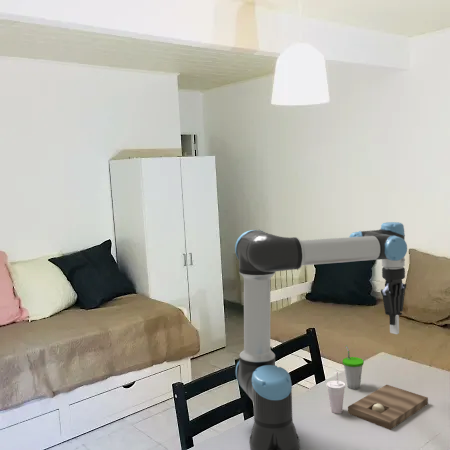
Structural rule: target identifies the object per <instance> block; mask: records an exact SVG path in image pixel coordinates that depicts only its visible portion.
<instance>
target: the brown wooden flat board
mask: <svg viewBox="0 0 450 450" xmlns="http://www.w3.org/2000/svg"><path fill="white" fill-rule="evenodd" d="M377 403H378V404H381V405H383V407H384V409H385V411H384V412H383V413H379V412H376V411H373V410H372V407H373V405H375V404H377ZM428 405H429V397H427V396H425V395H421V394H418V393H415V392H412V391H408V390H405V389H402V388H398V387H396V386H393V385H389V384H385V385H384V386H382V387H380V388H377V390H375V391H373V392H371V393H369V394H368V395H366V396H364V397H362V398H361V399H359V400H357V401H356V402H353V403H351V404H350V405H348V406H347V414H348V415H351V416H353V417H355V418H358V419H361V420H363V421H366V422H369V423H371V424H374V425H377V426H379V427H381V428H385V429H386V430H390V431H391V430H393V429H394V428H395V427H396V426H397V427H398V426H399V425H400V424H401V423H403V422H404V421H406V420H407V419H409V418H410V417H412V416H413V415H414V414H416V413H418V412H419V411H420V410H422V409H423V408H426V406H428Z"/></svg>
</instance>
